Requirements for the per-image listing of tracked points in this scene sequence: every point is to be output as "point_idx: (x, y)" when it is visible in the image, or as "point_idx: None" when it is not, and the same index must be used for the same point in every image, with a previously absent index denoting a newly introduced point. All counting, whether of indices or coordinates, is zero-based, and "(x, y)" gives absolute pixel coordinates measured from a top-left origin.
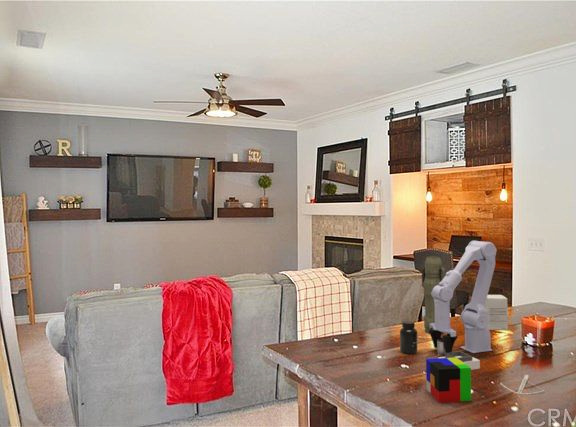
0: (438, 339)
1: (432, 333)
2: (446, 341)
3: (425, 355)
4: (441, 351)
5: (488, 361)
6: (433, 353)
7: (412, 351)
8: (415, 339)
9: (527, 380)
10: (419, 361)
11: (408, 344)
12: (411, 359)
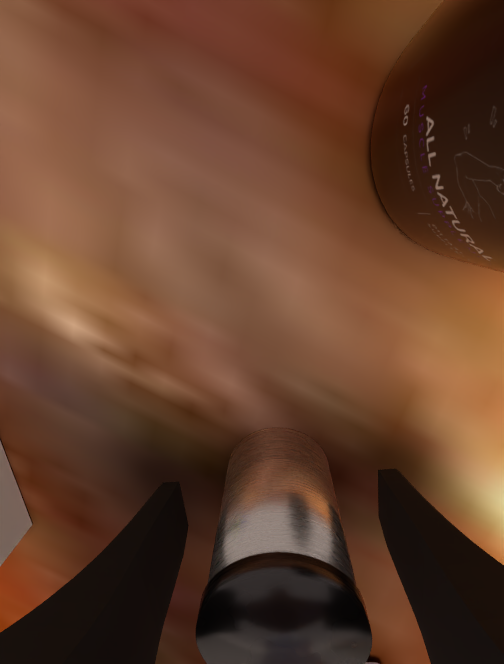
0: (267, 580)
1: (483, 647)
2: (29, 613)
3: (282, 287)
4: (236, 467)
5: None
6: (321, 400)
7: (375, 131)
8: (472, 179)
9: None
10: (82, 100)
11: (453, 3)
12: (175, 20)
